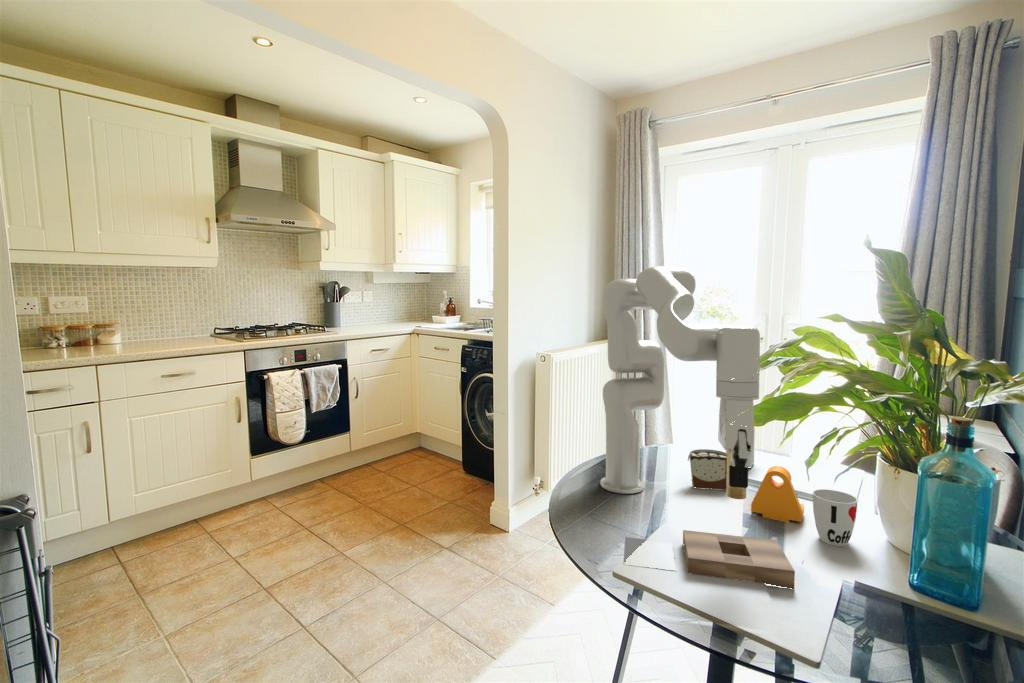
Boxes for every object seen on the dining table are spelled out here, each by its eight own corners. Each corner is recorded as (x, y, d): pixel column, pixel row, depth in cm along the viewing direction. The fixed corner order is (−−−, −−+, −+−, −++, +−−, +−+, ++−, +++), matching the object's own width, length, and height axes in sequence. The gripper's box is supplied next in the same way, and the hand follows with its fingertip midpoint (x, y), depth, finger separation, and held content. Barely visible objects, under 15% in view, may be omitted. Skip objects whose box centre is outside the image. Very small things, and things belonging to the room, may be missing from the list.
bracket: (803, 514, 116) (805, 467, 116) (801, 525, 110) (802, 475, 110) (755, 504, 123) (756, 459, 122) (751, 514, 117) (752, 467, 116)
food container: (727, 483, 139) (727, 449, 138) (733, 490, 132) (734, 455, 132) (683, 480, 141) (684, 447, 140) (687, 488, 135) (688, 453, 134)
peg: (724, 492, 94) (725, 437, 93) (744, 493, 93) (744, 438, 92) (727, 498, 90) (728, 442, 90) (747, 500, 89) (748, 443, 89)
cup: (825, 549, 99) (826, 503, 98) (803, 531, 107) (804, 488, 107) (865, 550, 99) (866, 503, 98) (840, 532, 107) (841, 489, 106)
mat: (625, 539, 104) (625, 536, 104) (673, 544, 101) (673, 542, 101) (623, 567, 92) (623, 564, 92) (677, 574, 90) (677, 571, 90)
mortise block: (682, 545, 101) (683, 530, 101) (775, 556, 96) (776, 540, 96) (688, 575, 89) (688, 557, 89) (794, 589, 84) (794, 571, 84)
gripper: (710, 383, 100) (709, 468, 100) (723, 395, 84) (722, 496, 85) (749, 384, 98) (748, 471, 98) (770, 397, 82) (768, 500, 82)
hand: (736, 482), depth 91 cm, fingers closed on peg, 3 cm apart
